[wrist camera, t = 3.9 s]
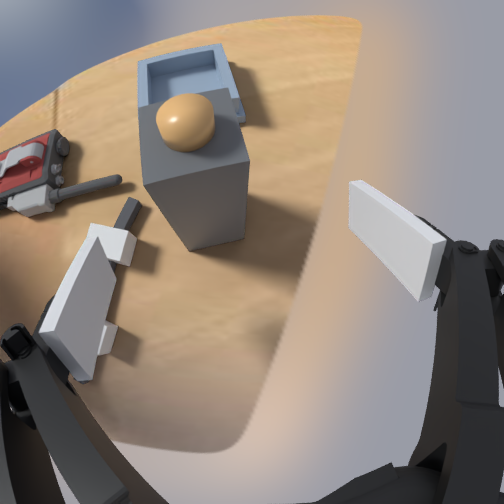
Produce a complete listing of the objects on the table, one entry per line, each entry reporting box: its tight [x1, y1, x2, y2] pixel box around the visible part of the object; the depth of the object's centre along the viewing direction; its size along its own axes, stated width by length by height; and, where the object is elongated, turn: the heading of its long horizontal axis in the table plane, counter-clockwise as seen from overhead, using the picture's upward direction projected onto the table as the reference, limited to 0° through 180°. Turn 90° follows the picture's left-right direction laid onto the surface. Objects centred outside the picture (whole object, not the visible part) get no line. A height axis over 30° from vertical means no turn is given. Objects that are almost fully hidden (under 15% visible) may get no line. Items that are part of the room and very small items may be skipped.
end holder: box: [138, 44, 246, 123], centre depth 25 cm, size 10×10×3 cm
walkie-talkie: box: [0, 129, 122, 217], centre depth 22 cm, size 9×4×20 cm
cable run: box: [74, 197, 142, 384], centre depth 21 cm, size 4×16×2 cm, turn 168°
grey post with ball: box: [138, 88, 250, 251], centre depth 17 cm, size 4×4×13 cm
